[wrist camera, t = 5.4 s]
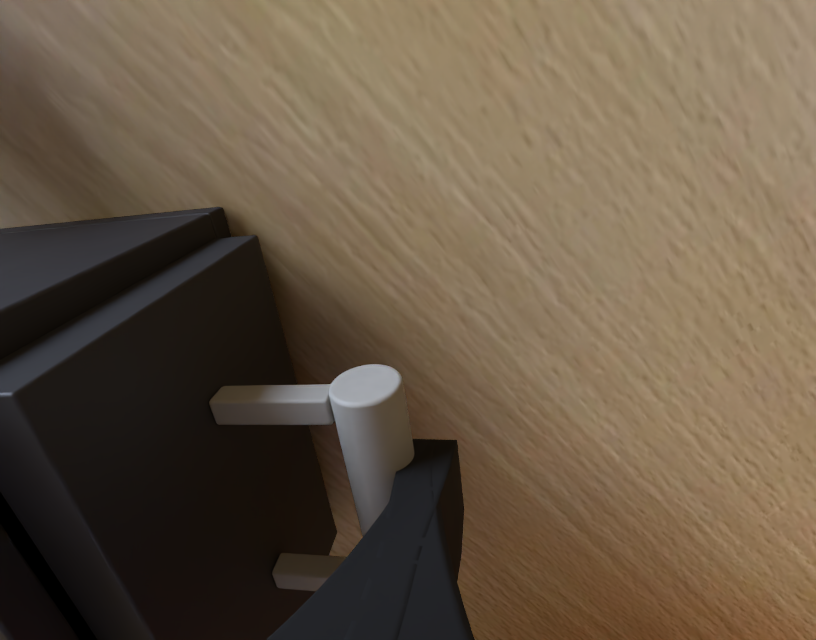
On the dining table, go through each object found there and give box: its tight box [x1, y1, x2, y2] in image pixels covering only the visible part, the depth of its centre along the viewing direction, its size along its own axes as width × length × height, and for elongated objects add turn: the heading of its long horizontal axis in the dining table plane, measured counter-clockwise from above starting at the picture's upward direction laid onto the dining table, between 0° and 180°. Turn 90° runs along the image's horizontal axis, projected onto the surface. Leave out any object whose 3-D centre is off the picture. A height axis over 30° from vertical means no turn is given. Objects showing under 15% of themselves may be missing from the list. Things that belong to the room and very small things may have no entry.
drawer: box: [0, 235, 414, 640], centre depth 12 cm, size 14×10×7 cm
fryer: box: [0, 207, 231, 640], centre depth 12 cm, size 11×11×8 cm
